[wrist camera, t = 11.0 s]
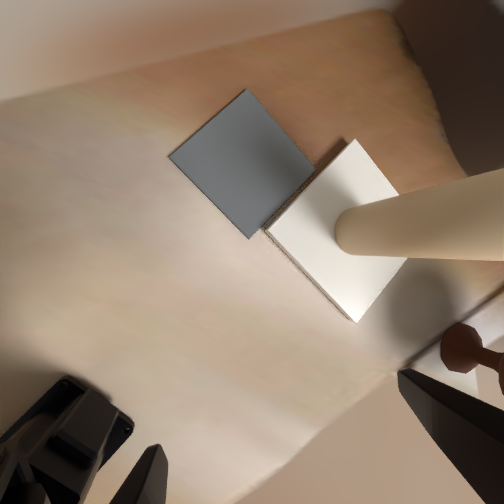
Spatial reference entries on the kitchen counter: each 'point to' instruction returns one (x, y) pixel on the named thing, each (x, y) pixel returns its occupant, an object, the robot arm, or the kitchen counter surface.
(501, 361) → the ice cream bowl
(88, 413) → the robot arm
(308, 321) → the kitchen counter surface
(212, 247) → the kitchen counter surface
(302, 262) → the cutting board
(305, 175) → the mat
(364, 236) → the tan tapered rounded piece
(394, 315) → the kitchen counter surface
